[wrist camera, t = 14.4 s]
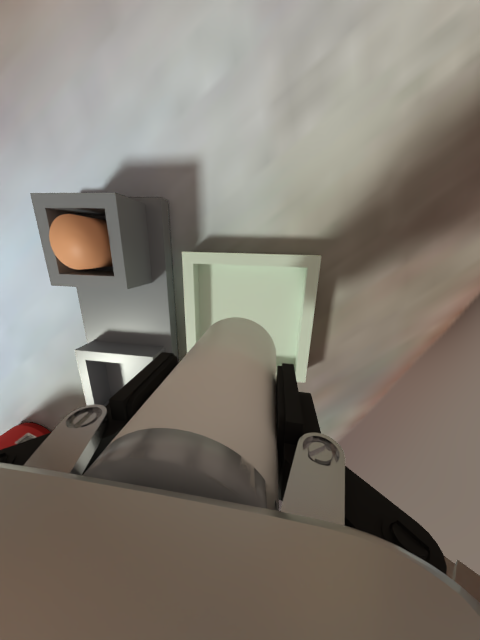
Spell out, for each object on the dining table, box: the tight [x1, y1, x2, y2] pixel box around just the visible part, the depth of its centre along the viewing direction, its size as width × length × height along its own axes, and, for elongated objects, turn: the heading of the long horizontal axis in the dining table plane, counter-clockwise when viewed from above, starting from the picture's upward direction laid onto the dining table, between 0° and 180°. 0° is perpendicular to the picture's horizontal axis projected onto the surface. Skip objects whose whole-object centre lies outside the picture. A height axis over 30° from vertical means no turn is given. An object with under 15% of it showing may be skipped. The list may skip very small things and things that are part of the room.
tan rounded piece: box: [49, 214, 113, 270], centre depth 19 cm, size 4×4×4 cm
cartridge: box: [82, 317, 279, 511], centre depth 10 cm, size 5×5×10 cm
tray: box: [182, 252, 321, 383], centre depth 22 cm, size 12×12×2 cm
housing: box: [30, 193, 179, 407], centre depth 22 cm, size 23×10×6 cm, turn 179°
